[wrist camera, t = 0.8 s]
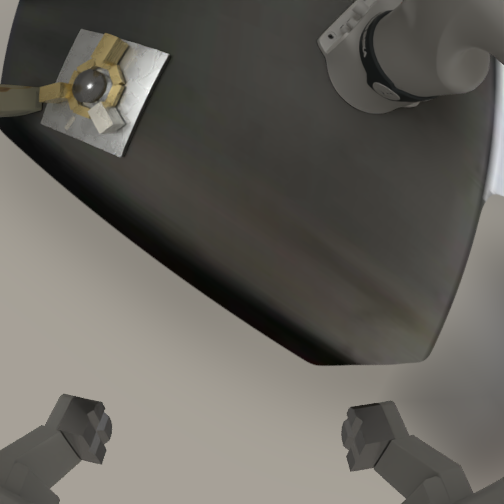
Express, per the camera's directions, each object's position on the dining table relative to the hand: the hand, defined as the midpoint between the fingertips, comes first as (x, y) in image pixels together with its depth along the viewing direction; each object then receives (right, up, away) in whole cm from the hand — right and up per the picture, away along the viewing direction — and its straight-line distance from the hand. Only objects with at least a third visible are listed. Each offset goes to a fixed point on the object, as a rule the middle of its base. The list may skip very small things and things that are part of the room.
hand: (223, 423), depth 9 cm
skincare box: (-38, +32, +30) cm, 57 cm away
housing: (-22, +31, +30) cm, 49 cm away
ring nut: (-22, +31, +28) cm, 47 cm away
